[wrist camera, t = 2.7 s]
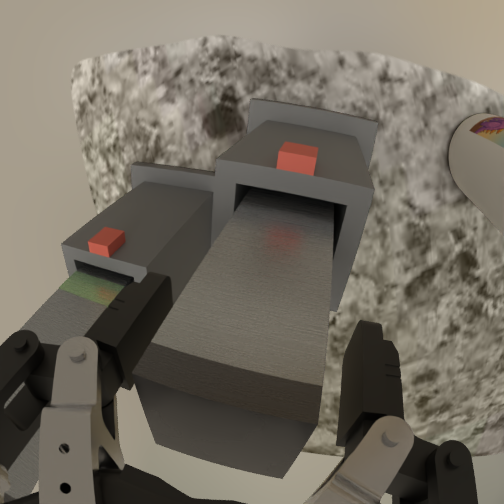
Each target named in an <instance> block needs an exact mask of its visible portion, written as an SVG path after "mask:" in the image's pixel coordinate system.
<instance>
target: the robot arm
mask: <svg viewBox="0 0 504 504" xmlns="http://www.w3.org/2000/svg"><path fill="white" fill-rule="evenodd" d="M172 307H173V296H172V282H171V278H170V276H166V275H163V274H159V273H155V272H149V273H147V275H146V276H145V277H144V278H143V279H142V281H141V282H140V283H138V282H133V283H131V284H129V285H128V286H126V287H124V288H123V289H122V290H121V291H120V292H119V293H118V295H117V296H116V297H115V299H114V300H113V301H112V302H111V303H110V304H109V305H108V308H106V309H105V310H104V312H103V313H102V314H101V315H100V317H99V318H98V319H97V320H96V322H95V323H94V324H93V325H92V327H91V328H90V329H89V330H88V332H87V333H86V334H85V335H84V336H83V337H73V338H70V339H68V340H67V341H65V342H64V343H63V344H62V345H54V344H46V343H40V341H39V339H38V337H37V335H36V334H35V333H34V332H33V331H30V330H20V331H17V332H15V333H13V334H12V335H11V336H10V337H9V338H8V339H7V340H6V341H5V342H4V343H3V344H2V345H1V346H0V504H246V503H241V502H237V501H232V500H230V501H229V500H209V499H195V498H191V497H189V496H187V495H185V494H184V493H182V492H181V491H179V490H177V489H176V488H174V487H172V486H171V485H169V484H168V483H166V482H165V481H163V480H162V479H160V478H159V477H156V476H154V475H151V474H149V473H146V472H144V471H141V470H139V469H137V468H134V467H132V466H130V465H127V464H125V463H124V458H123V454H122V452H121V448H120V444H119V433H118V417H117V398H116V393H117V391H118V389H119V388H120V387H122V388H125V389H127V390H131V388H132V387H133V385H134V380H133V376H132V372H133V370H134V368H135V367H136V365H137V364H138V362H139V360H140V359H141V357H142V355H143V354H144V352H145V350H146V349H147V347H148V346H149V344H150V342H151V341H152V339H153V337H154V336H155V334H156V333H157V331H158V329H159V328H160V326H161V325H162V323H163V321H164V320H165V318H166V317H167V315H168V313H169V312H170V310H171V309H172ZM399 367H400V362H399V353H398V351H397V350H396V348H395V346H394V344H393V342H392V341H388V340H383V333H382V325H381V324H379V323H374V322H369V321H363V320H360V321H359V322H358V324H357V326H356V329H355V331H354V333H353V335H352V338H351V340H350V342H349V344H348V347H347V349H346V351H345V355H344V359H343V365H342V381H341V396H340V409H339V420H338V431H337V440H336V446H342V447H345V456H344V457H343V459H342V460H341V461H340V462H339V463H338V465H337V466H336V467H335V468H334V470H333V471H332V472H331V473H330V474H329V476H328V477H327V478H326V479H325V480H324V482H323V483H322V484H321V485H320V486H319V488H318V489H317V490H316V491H315V492H314V493H313V494H312V495H311V496H310V497H309V499H308V500H307V501H306V502H304V503H303V504H380V500H381V498H382V496H383V494H384V493H388V494H391V495H392V504H478V499H477V490H476V483H475V476H474V469H473V463H472V457H471V454H470V451H469V450H468V448H467V447H466V446H465V445H464V444H463V443H461V442H459V441H456V440H449V441H446V442H444V443H442V444H441V445H440V446H437V445H435V444H432V443H430V442H427V441H425V440H422V439H420V438H418V437H416V436H415V435H414V434H413V431H412V429H411V427H410V426H409V424H408V423H407V422H406V421H405V420H404V410H403V395H402V383H401V379H400V377H401V372H400V369H399ZM23 382H24V384H25V385H24V386H23V388H22V389H21V390H20V391H19V392H18V393H17V395H16V396H15V397H14V398H13V399H12V401H11V402H10V403H9V404H8V405H7V407H6V408H5V409H4V406H5V403H6V402H7V401H8V399H9V398H10V397H11V396H12V395H13V393H14V392H15V391H16V390H17V389H18V388H19V386H20V385H21V384H22V383H23ZM39 428H40V440H39V491H38V492H36V493H33V494H30V495H27V496H24V497H21V498H18V499H15V500H11V501H8V502H5V503H4V492H5V491H8V490H9V489H10V487H11V484H10V481H9V479H8V472H7V471H8V470H9V469H10V467H11V466H12V464H13V463H14V462H15V460H16V459H17V457H18V456H19V455H20V453H21V452H22V451H23V449H24V448H25V446H26V445H27V444H28V442H29V441H30V440H31V438H32V437H33V436H34V434H35V433H36V432H37V430H38V429H39Z"/></svg>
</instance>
